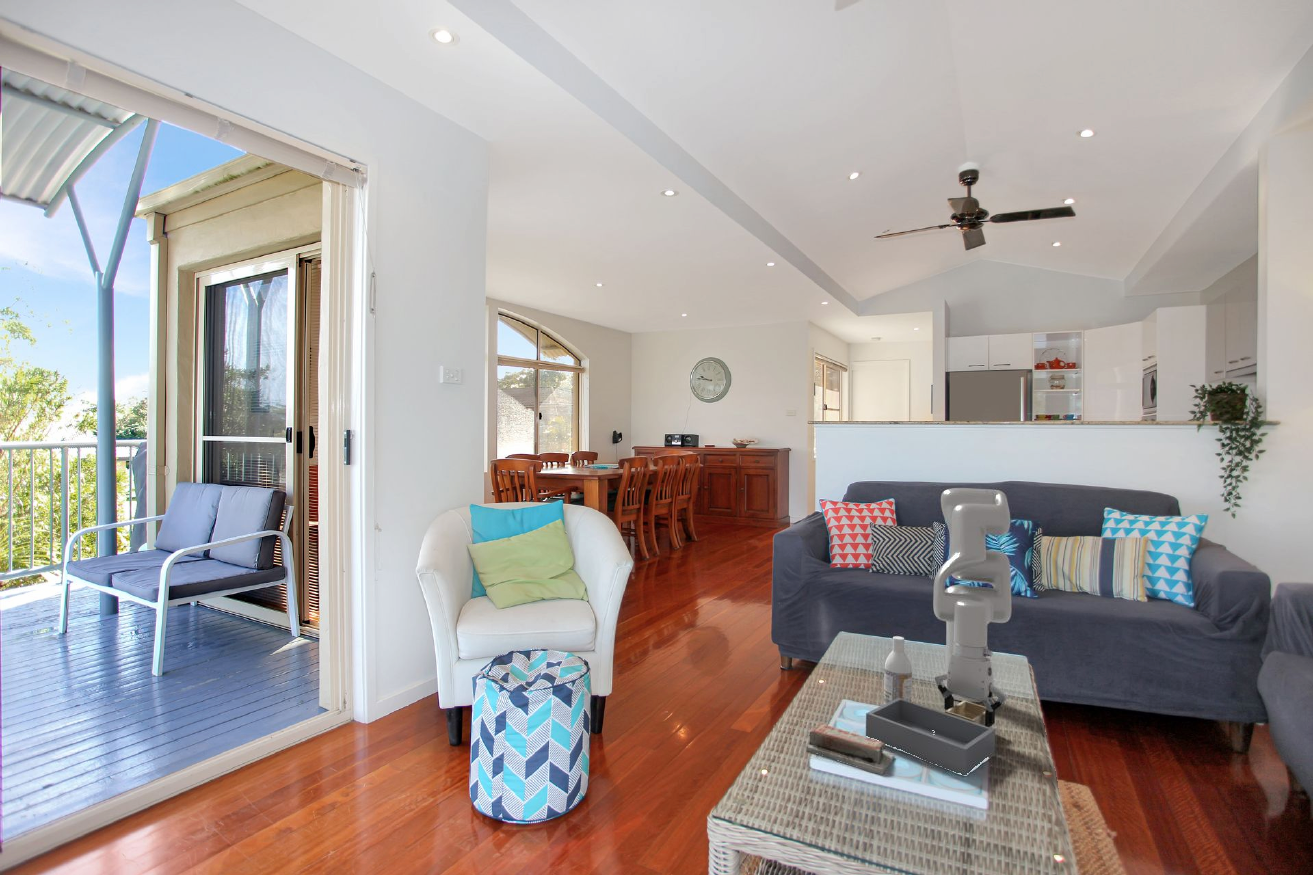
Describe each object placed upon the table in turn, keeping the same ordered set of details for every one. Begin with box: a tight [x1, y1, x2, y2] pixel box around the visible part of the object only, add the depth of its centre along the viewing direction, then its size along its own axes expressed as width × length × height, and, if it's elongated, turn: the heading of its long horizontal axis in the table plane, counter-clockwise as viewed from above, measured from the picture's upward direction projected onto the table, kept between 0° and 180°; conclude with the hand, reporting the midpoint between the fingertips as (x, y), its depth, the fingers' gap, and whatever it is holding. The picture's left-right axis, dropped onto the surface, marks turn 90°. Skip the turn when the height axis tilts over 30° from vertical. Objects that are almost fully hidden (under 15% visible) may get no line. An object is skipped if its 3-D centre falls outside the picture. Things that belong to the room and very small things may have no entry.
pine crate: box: [944, 701, 993, 728], centre depth 162 cm, size 11×7×6 cm, turn 131°
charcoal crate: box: [865, 698, 996, 775], centre depth 155 cm, size 16×24×6 cm, turn 41°
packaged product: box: [805, 723, 895, 775], centre depth 150 cm, size 18×5×10 cm
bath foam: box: [883, 635, 913, 705], centre depth 175 cm, size 7×7×20 cm
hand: (968, 719), depth 162 cm, fingers open, 9 cm apart
